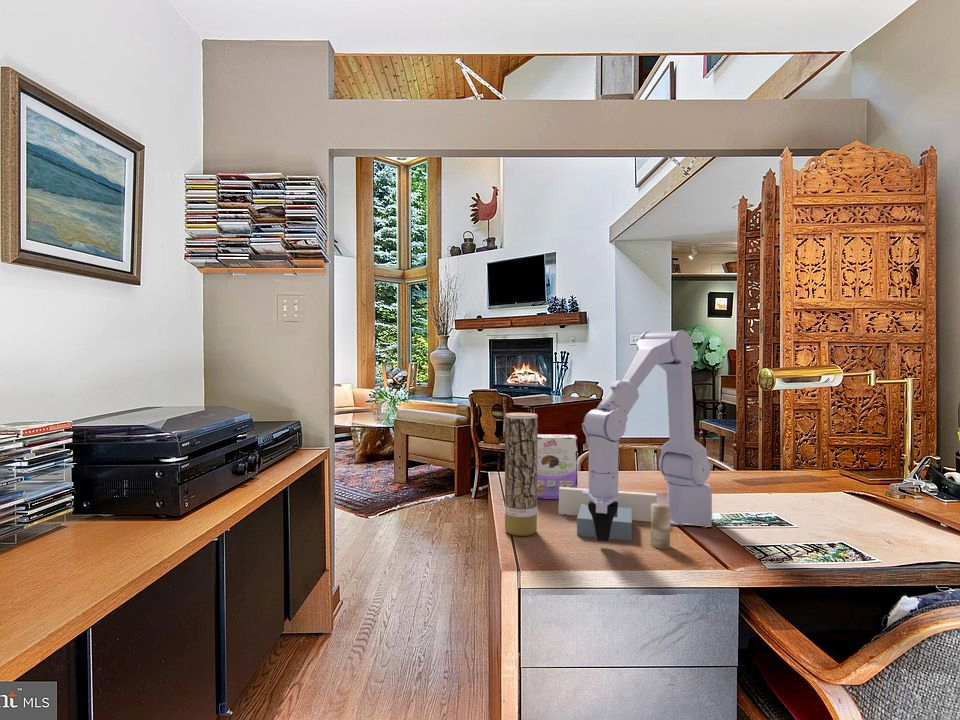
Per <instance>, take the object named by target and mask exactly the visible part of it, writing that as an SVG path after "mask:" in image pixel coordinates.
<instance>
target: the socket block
mask: <svg viewBox="0 0 960 720" xmlns="http://www.w3.org/2000/svg"><path fill="white" fill-rule="evenodd" d="M576 517H577V518H576V536H577V535H581V536H580V537H587V536H589V538H597V537H596V532H595V526H594V521H593V518H592V515H591V513H590V511H589V509H588V505H586V504H581V507H580V510H579V513H578V516H576ZM632 524H633V520H632V515H631V508H625V507H618V510H617V512H616V514H615V516H614V518H613V521H612V524H611V530H610V536H609V540H622V541H629V542H630V541H631V542H632V539H633V538H632V537H633V536H632V533H633V532H632V531H633V528H632V527H633V526H632Z"/></svg>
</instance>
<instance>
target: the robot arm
mask: <svg viewBox="0 0 960 720" xmlns="http://www.w3.org/2000/svg"><path fill="white" fill-rule="evenodd" d="M693 340H694V339H693V338H692V337H691V335H690V334H688V332H687V331H685V330H684V329H683V330H681V329H680V330H673V331H672V330H670V331H644V332H643V333H641V335H640V337H639V339H638V340H637V342H636V354H635V356H634V357H633V359H632V362H631V363H630V365H629V367H628V369H627V370H626V372H625V375H624V376H623V378H622V379H621V380H615V381H614V382H612V383H611V384H610V387H609V389H608V391H607V392H606V393H605V395H604V397H603V398H602V399H601V401H600V402H599V404H598V405H597V407H596V408H594V409H591V410H590V411H589V412H587V413H586V414H585V416H584V418H583V423H581V427H582V431H583V434H584V435H585V443H586V445H587V446H588V487H587V489H588V491H583V492H582V496H586V497H588V498H590V499H591V500H592V501H589V503H588V509H589V511H590V513H591V515H592V518H593V521H594V526H595V532H596V537H595V538H596V539H597V541H601V542H608V541H609V540H610V539H609V536H610V530H611V524H612V521H613V518H614V516H615V514H616V512H617V510H618V502H616V500H618V499H619V493H618V491H619V451H620V450H619V443H620V441H619V440H620V439H621V438H622V437H623V436H624V435H625V432H626V427H627V421H628V418H629V417H628V415H629V414H630V413H631V410H632V408H633V407H634V405H635V404H636V402H637V401H638V400H639V397H640V394H639V387H640V386H641V385H642V384H643V382H644V381H645V380H646V378H647V377H648V376H649V374H650V373H651V372H652V370H653V369H654V368H655V366H659V367H661V369H662V370H664V371H665V372H666V388H667V389H666V390H667V392H666V394H667V411H668V412H667V413H668V414H667V415H668V433H669V434H668V435H669V440H668V441H666V442H665V443H664V444H663V445H662V446H660V457H659V460H658V467H659V471H660V473H661V475H662V476H663V477H664V481H666V483H667V484H666V486H667V487H666V504H668V505H670V525H674V526H675V525H676V526H680V525H679V524H681V523H690V524H691V523H693V524H697V525H704V526H712V527H713V524H712V521H713V520H712V519H713V492H712V486H711V484H709V483H705V482H706V481H707V480H708V479H709V477H710V474H711V464H710V461H709V457H708V451H707V448H706V447H705V446H704V445H702V444H701V443H700V442H699V441H698V440H696V439H695V425H694V424H695V423H694V422H695V421H694V404H693V401H694V400H693V384H692V383H693V382H692V381H693V379H692V366H694V364H695V363H694V344H693Z"/></svg>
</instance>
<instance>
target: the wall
mask: <svg viewBox="0 0 960 720" xmlns="http://www.w3.org/2000/svg"><path fill="white" fill-rule="evenodd" d="M583 491H588V488H584V487H583V488H582V487H577V488H571V487H560V488H559V500H558V515H564V514H567V516H576V515H577V516H576V517H578V513H579V510H580V507H581V504H586V505H588V503H589V501H592V500H591V499H590V498H588V497H586V496H582V492H583ZM618 493H619V499H618V500H616V502H618V507H625V508H631V515H632V521H639V522H648V523H649V522H650V523H651V504H653V503H658V500H657V498H658V496H657V493H656V492H655V493H652V492H641V491H640V492H639V491H637V492H636V491H628V490H627V491H625V490H624V491H623V490H618Z"/></svg>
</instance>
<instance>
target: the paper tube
mask: <svg viewBox="0 0 960 720" xmlns="http://www.w3.org/2000/svg"><path fill="white" fill-rule="evenodd" d="M538 417H539V416H538V414H537V413H534V412H533V413H532V412H508V413H507V412H506V413H505V428H504V429H505V430H504V431H505V433H504V434H505V435H504V437H505V439H504V440H505V441H504V457H505V458H504V530H505V532H506V533H508V534H509V535H512V536H516V537H526V536H527V537H528V536H531V535H534V534H535V533H536V532H537V528H538V527H537V526H538V524H537V523H538V519H537V518H538V517H537V516H538V499H537V434H539V433H538V430H539V429H538Z"/></svg>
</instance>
